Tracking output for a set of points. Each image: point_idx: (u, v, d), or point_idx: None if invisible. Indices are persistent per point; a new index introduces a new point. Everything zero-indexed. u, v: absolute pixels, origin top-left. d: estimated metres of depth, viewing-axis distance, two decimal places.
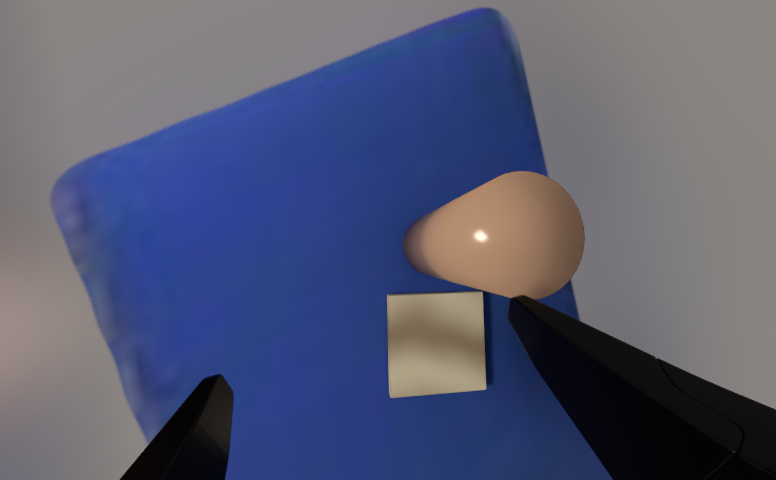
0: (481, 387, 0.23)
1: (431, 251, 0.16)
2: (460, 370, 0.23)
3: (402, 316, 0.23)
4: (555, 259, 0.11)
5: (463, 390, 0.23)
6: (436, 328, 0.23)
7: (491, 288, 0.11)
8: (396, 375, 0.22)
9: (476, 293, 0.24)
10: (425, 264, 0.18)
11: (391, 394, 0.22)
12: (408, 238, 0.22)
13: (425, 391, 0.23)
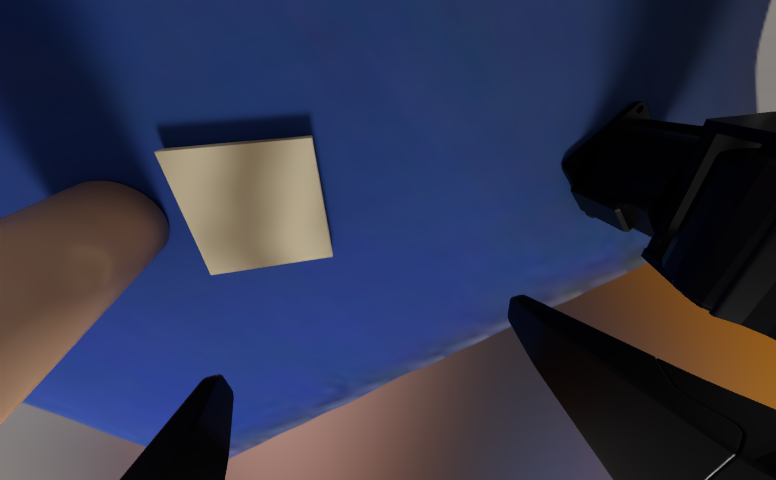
0: (309, 145, 0.16)
1: None
2: (289, 178, 0.17)
3: (232, 257, 0.18)
4: None
5: (316, 172, 0.17)
6: (236, 216, 0.17)
7: None
8: (306, 254, 0.19)
9: (161, 162, 0.15)
10: None
11: (328, 255, 0.20)
12: None
13: (322, 220, 0.18)
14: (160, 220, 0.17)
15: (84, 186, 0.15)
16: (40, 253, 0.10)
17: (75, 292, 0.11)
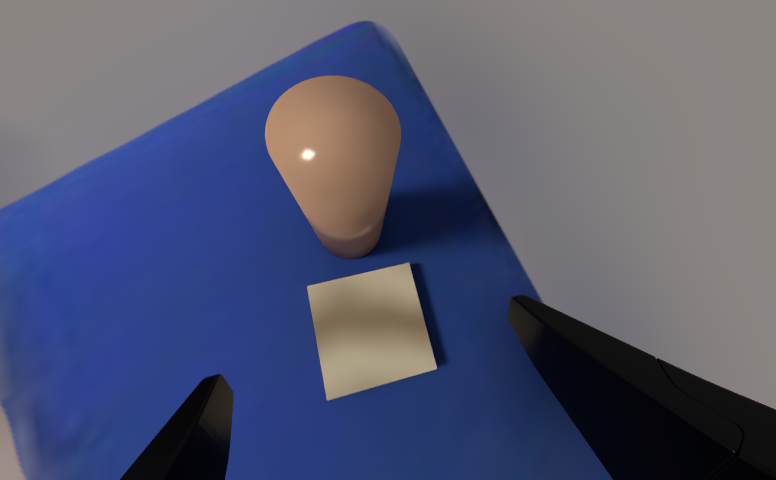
0: (431, 367, 0.20)
1: None
2: (402, 352, 0.21)
3: (326, 305, 0.21)
4: (371, 148, 0.11)
5: (410, 374, 0.20)
6: (366, 310, 0.21)
7: (304, 187, 0.10)
8: (330, 372, 0.20)
9: (402, 265, 0.22)
10: (315, 230, 0.18)
11: (327, 396, 0.19)
12: None
13: (366, 384, 0.20)
14: (357, 256, 0.22)
15: None
16: (380, 219, 0.17)
17: (356, 233, 0.16)
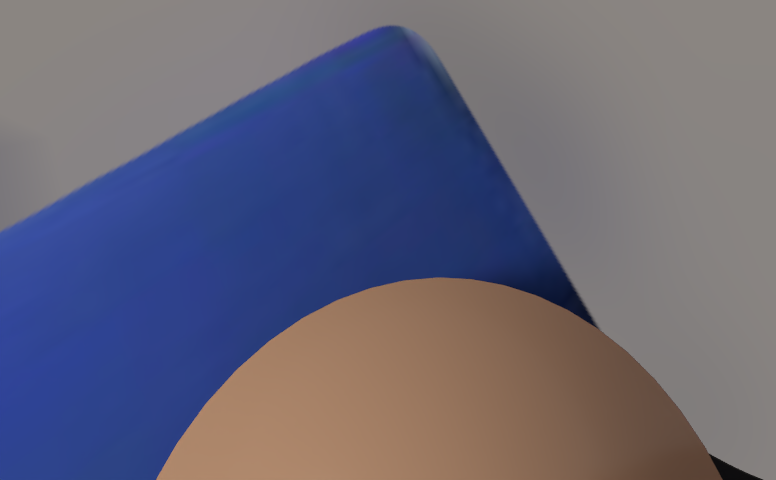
0: None
1: None
2: None
3: None
4: None
5: None
6: None
7: None
8: None
9: None
10: None
11: None
12: None
13: None
14: None
15: None
16: None
17: None
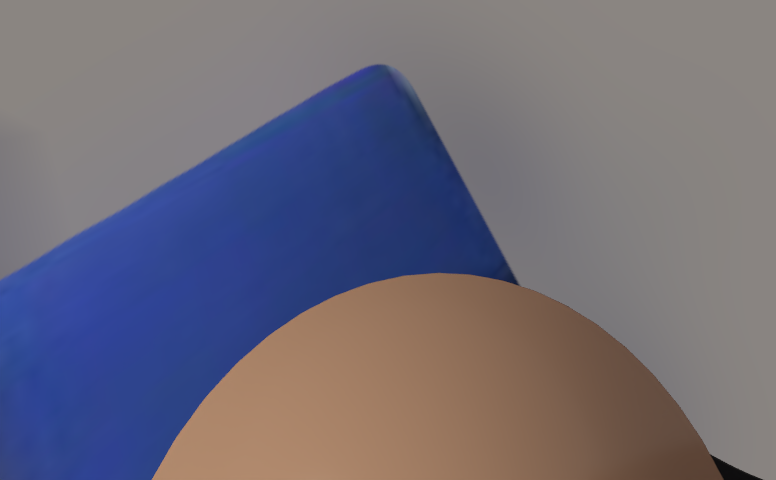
0: None
1: None
2: None
3: None
4: None
5: None
6: None
7: None
8: None
9: None
10: None
11: None
12: None
13: None
14: None
15: None
16: None
17: None
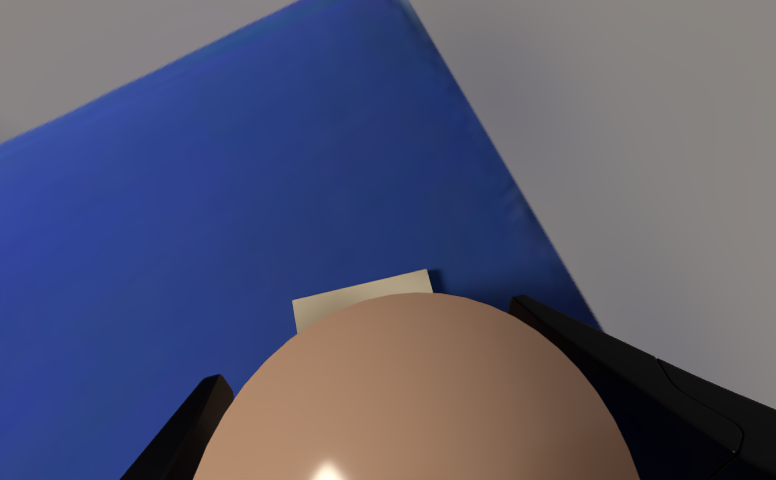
0: None
1: None
2: None
3: None
4: None
5: None
6: None
7: None
8: None
9: (418, 272, 0.17)
10: None
11: None
12: None
13: None
14: None
15: None
16: None
17: None
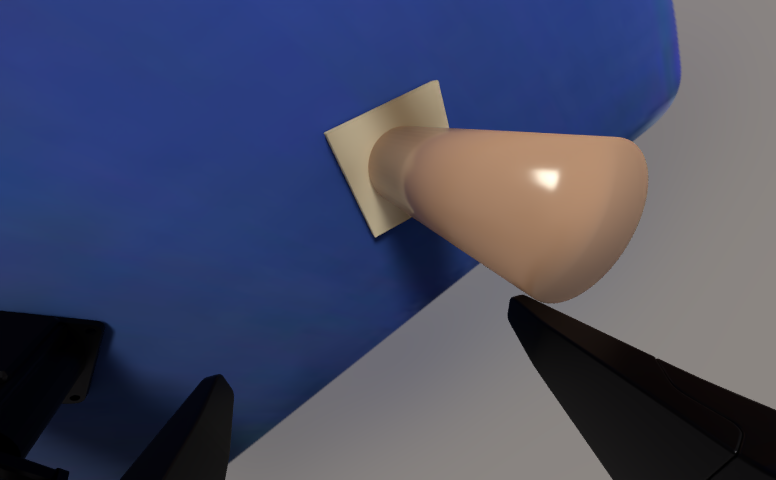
0: (375, 231, 0.21)
1: (457, 144, 0.11)
2: (384, 203, 0.20)
3: (420, 109, 0.18)
4: (563, 276, 0.09)
5: (366, 215, 0.20)
6: None
7: (524, 220, 0.07)
8: (354, 130, 0.18)
9: None
10: (413, 154, 0.14)
11: (330, 133, 0.17)
12: (411, 127, 0.17)
13: (349, 174, 0.19)
14: (374, 186, 0.19)
15: None
16: None
17: (424, 218, 0.13)
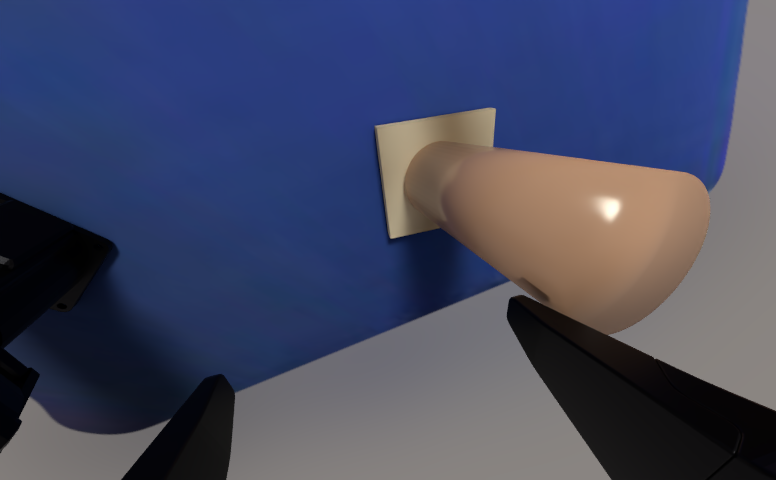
0: (392, 233, 0.21)
1: (513, 158, 0.11)
2: (409, 209, 0.21)
3: (471, 130, 0.19)
4: (603, 307, 0.09)
5: (389, 215, 0.20)
6: None
7: (584, 231, 0.07)
8: (404, 132, 0.18)
9: None
10: (461, 162, 0.14)
11: (381, 128, 0.17)
12: None
13: (386, 172, 0.19)
14: (408, 190, 0.19)
15: None
16: None
17: (458, 225, 0.13)
